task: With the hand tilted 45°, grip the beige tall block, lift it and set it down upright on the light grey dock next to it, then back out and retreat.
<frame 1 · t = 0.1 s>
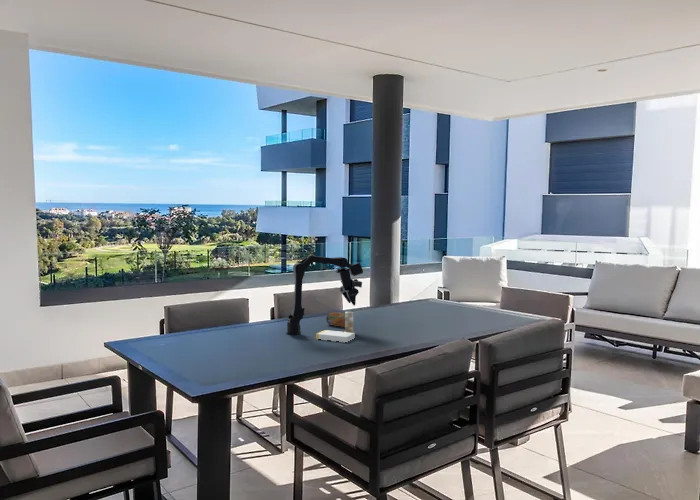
hand: (352, 304, 312), 15 cm above the table, tool pointing down, fingers open, 9 cm apart
tin: (338, 326, 325), on the table
beige tall block: (349, 334, 302), on the table
dock: (335, 338, 290), on the table
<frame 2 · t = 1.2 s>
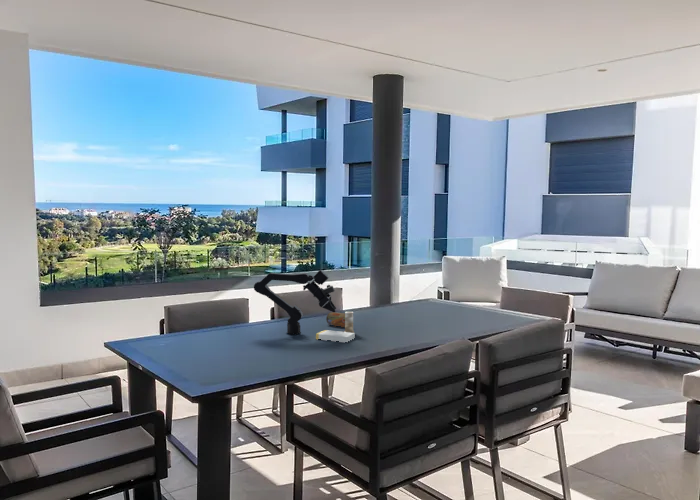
hand: (335, 310, 302), 13 cm above the table, tool tilted 45°, fingers open, 9 cm apart
nothing on the table moved.
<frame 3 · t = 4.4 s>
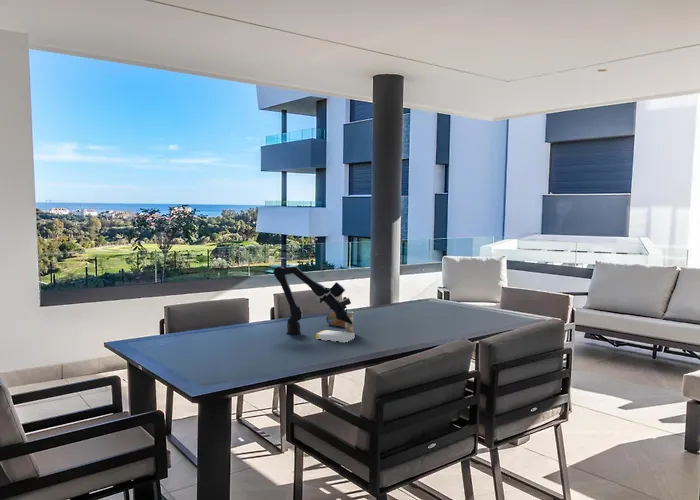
hand: (351, 322, 302), 7 cm above the table, tool tilted 45°, fingers closed on beige tall block, 4 cm apart
beige tall block: (349, 334, 302), on the table, touching gripper
everything else where it was.
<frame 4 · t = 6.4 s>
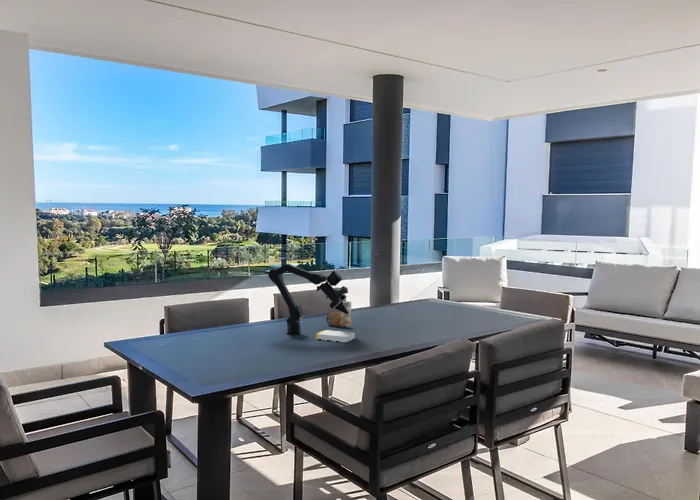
hand: (348, 312, 295), 13 cm above the table, tool tilted 45°, fingers closed on beige tall block, 4 cm apart
beige tall block: (346, 324, 296), point 7 cm above the table, touching gripper
everything else where it was.
when the fingers open (11 cm above the table, at t = 8.4 s): beige tall block drops 1 cm, resting on dock.
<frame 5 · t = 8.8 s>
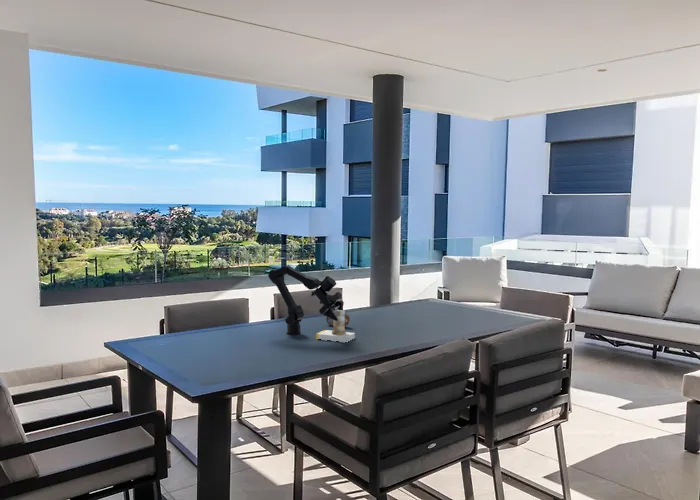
hand: (341, 319, 288), 11 cm above the table, tool tilted 45°, fingers open, 9 cm apart
beige tall block: (338, 333, 289), point 3 cm above the table, touching dock
everything else where it was.
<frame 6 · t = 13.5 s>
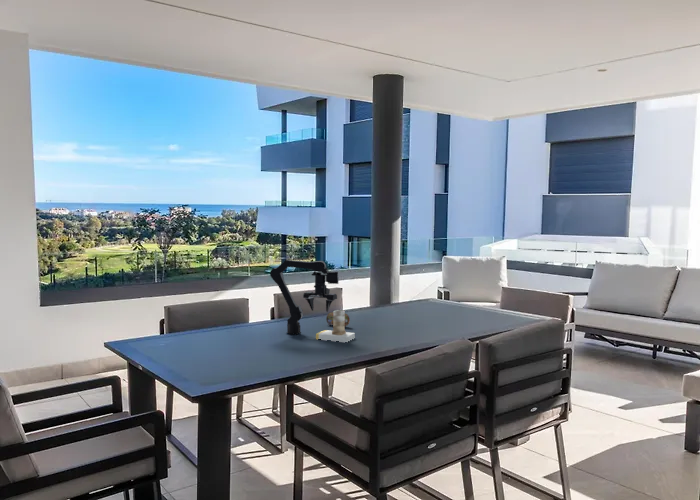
hand: (319, 311, 301), 13 cm above the table, tool pointing down, fingers open, 9 cm apart
nothing on the table moved.
at the end: beige tall block inside the target area on the dock (0.5 cm from its centre), point 3.0 cm above the dock's base; beige tall block tilted 0°; the gripper is holding nothing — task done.
